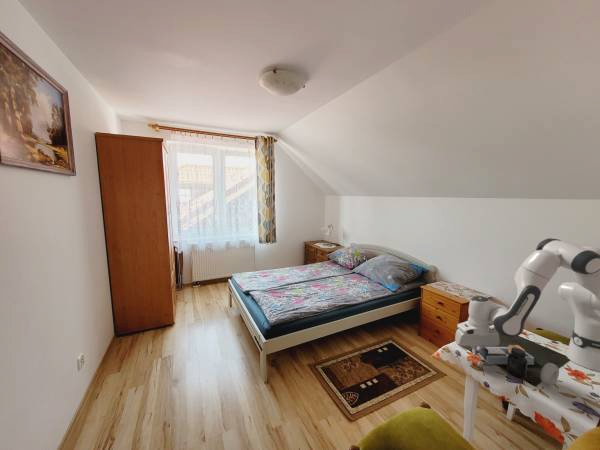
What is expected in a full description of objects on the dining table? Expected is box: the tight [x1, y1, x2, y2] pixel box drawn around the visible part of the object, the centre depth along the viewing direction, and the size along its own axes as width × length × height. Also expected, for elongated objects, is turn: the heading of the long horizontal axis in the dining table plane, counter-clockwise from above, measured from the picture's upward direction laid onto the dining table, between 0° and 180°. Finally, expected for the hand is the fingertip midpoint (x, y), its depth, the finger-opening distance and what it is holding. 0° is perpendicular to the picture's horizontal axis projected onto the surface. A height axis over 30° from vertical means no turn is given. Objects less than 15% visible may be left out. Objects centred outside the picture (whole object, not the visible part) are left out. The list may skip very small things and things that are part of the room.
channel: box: [476, 346, 535, 366], centre depth 122 cm, size 22×9×4 cm, turn 87°
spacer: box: [508, 344, 526, 354], centre depth 121 cm, size 4×4×5 cm
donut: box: [540, 362, 560, 387], centre depth 104 cm, size 10×3×10 cm, turn 114°
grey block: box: [479, 346, 506, 359], centre depth 122 cm, size 10×4×5 cm, turn 87°
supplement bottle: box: [506, 347, 528, 380], centre depth 110 cm, size 7×7×12 cm
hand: (476, 352), depth 122 cm, fingers closed
